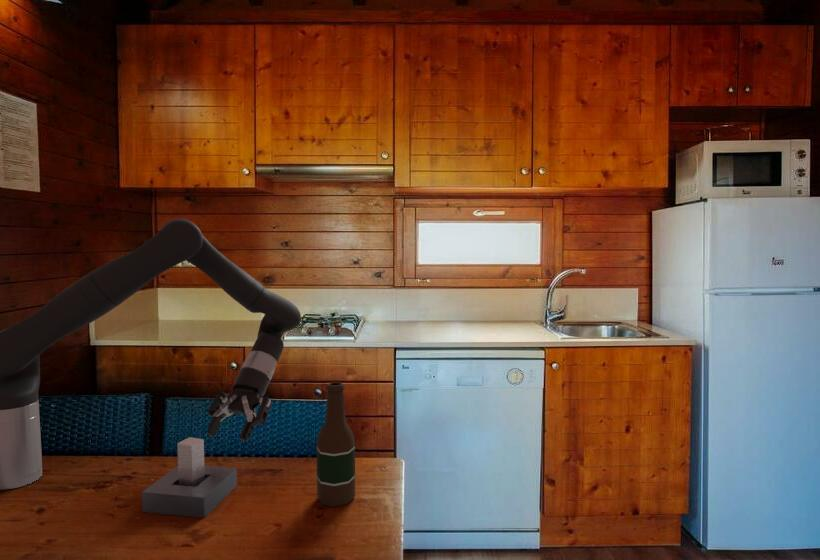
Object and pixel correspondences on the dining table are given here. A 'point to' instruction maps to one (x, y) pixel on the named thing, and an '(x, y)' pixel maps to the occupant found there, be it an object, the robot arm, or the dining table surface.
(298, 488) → the dining table surface
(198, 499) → the collar block
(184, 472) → the white rectangular block
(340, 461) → the beer bottle
